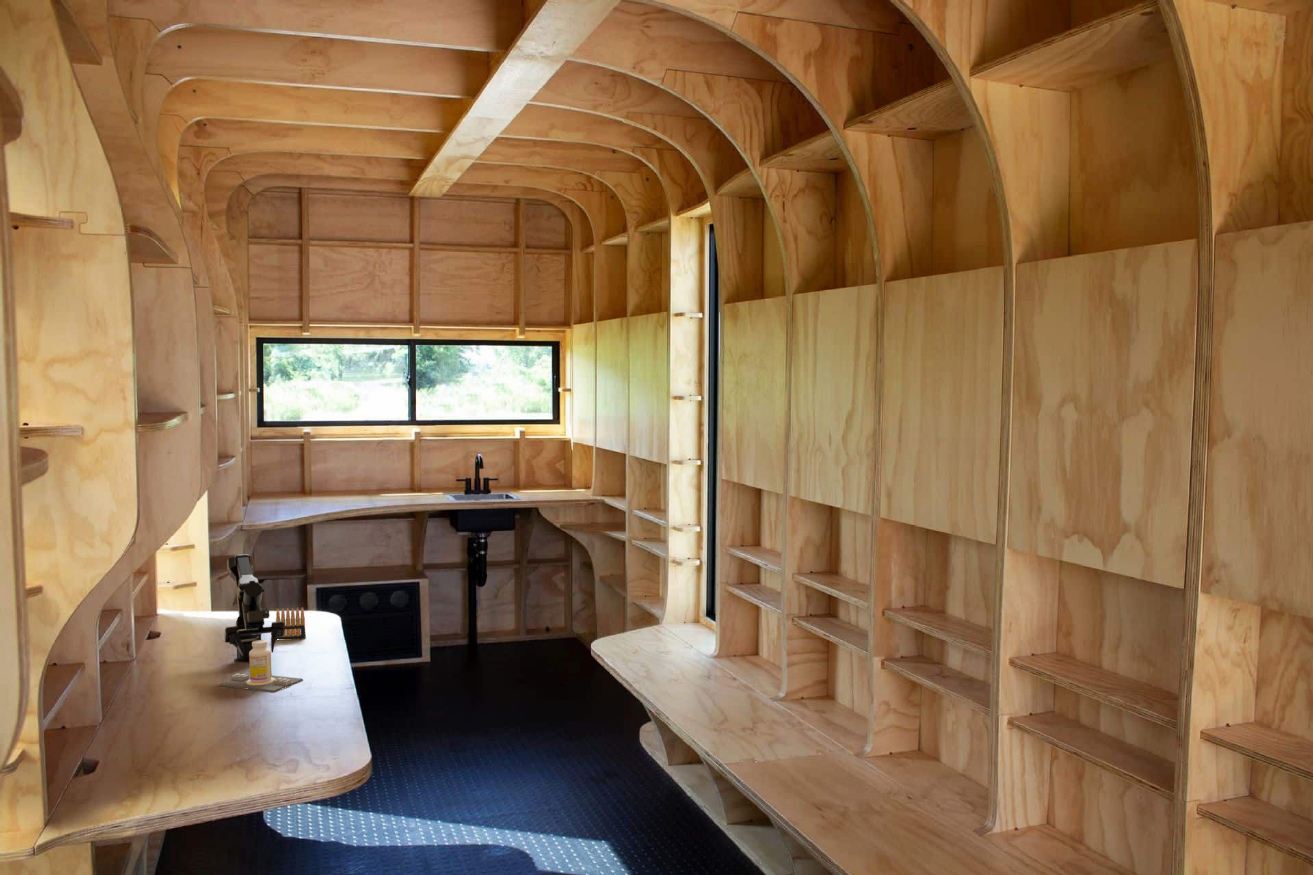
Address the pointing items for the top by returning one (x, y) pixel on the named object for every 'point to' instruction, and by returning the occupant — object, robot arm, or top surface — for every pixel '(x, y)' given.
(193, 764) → the top surface
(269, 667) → the supplement bottle
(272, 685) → the curved gray panel
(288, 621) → the ammunition clip
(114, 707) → the top surface
